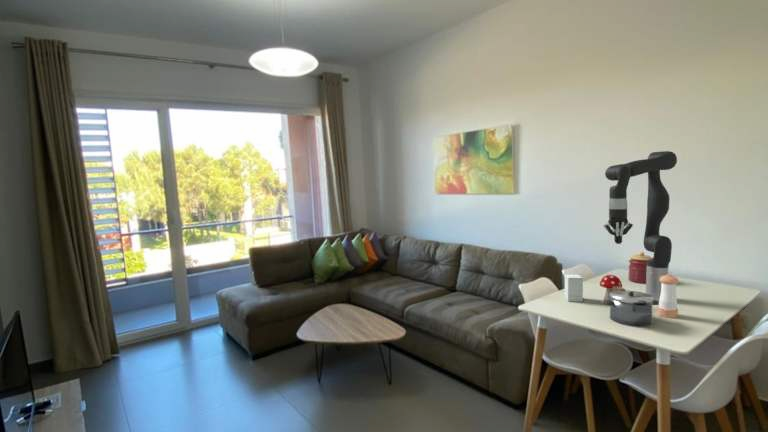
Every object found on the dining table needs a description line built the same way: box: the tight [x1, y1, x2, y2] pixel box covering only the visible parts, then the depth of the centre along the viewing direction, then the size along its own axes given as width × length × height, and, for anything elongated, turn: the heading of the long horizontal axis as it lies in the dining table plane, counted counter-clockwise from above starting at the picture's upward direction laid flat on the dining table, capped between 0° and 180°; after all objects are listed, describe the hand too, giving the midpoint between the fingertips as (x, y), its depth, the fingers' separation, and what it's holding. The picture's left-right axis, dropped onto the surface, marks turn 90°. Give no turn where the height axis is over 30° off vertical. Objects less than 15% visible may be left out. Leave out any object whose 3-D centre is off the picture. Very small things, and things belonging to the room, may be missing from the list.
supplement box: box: [564, 274, 584, 303], centre depth 209 cm, size 7×7×13 cm
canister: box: [628, 251, 653, 284], centre depth 238 cm, size 13×13×18 cm
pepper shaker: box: [657, 273, 679, 319], centre depth 182 cm, size 7×7×19 cm
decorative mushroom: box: [599, 274, 623, 307], centre depth 200 cm, size 10×9×15 cm
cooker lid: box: [610, 286, 653, 304], centre depth 180 cm, size 17×23×3 cm
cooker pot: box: [603, 298, 659, 328], centre depth 177 cm, size 22×18×10 cm
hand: (618, 243), depth 191 cm, fingers closed
